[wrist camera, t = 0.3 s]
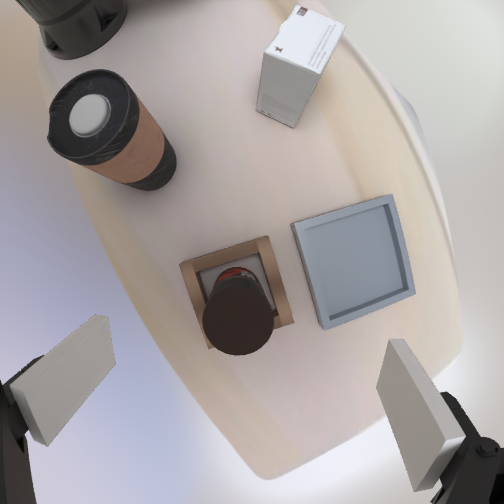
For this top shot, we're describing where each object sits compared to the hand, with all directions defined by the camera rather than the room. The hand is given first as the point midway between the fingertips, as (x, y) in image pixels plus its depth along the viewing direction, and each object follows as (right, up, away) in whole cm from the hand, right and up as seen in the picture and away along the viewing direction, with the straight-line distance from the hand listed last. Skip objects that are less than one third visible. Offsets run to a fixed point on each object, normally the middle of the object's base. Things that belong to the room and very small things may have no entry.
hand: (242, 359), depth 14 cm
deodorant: (-1, 0, +27) cm, 27 cm away
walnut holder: (-1, 0, +27) cm, 27 cm away
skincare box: (+5, +26, +26) cm, 37 cm away
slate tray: (+14, +4, +28) cm, 31 cm away
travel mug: (-13, +16, +26) cm, 33 cm away
